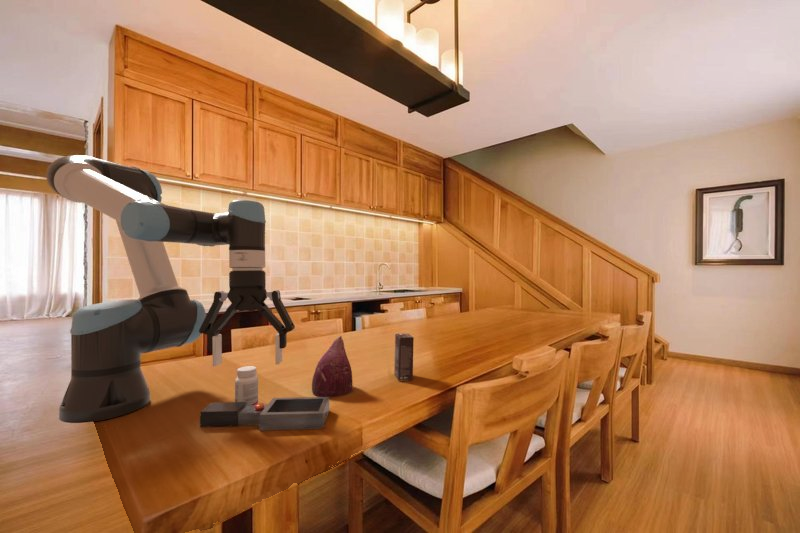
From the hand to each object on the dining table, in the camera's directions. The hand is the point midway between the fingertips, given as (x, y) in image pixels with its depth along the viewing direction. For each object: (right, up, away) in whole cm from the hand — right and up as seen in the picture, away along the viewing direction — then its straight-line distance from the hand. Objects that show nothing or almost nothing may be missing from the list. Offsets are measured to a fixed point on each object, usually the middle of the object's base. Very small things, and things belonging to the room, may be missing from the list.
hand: (248, 363), depth 77 cm
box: (+35, -10, +20) cm, 42 cm away
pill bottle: (0, -10, 0) cm, 10 cm away
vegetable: (+17, -10, +10) cm, 22 cm away
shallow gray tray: (+7, -9, -7) cm, 14 cm away
